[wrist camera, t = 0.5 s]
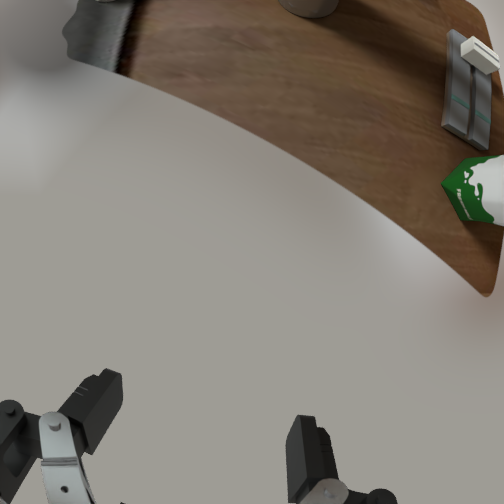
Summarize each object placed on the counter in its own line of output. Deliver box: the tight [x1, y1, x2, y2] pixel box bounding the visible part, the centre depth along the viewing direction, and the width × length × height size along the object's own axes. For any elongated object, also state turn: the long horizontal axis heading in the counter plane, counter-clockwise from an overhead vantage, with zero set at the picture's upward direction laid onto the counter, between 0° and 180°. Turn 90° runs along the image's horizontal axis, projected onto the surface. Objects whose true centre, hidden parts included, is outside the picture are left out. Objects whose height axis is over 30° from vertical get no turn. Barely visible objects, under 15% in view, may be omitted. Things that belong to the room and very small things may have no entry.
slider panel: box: [441, 29, 491, 150], centre depth 30 cm, size 20×9×2 cm, turn 165°
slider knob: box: [461, 36, 500, 75], centre depth 26 cm, size 3×6×5 cm, turn 75°
